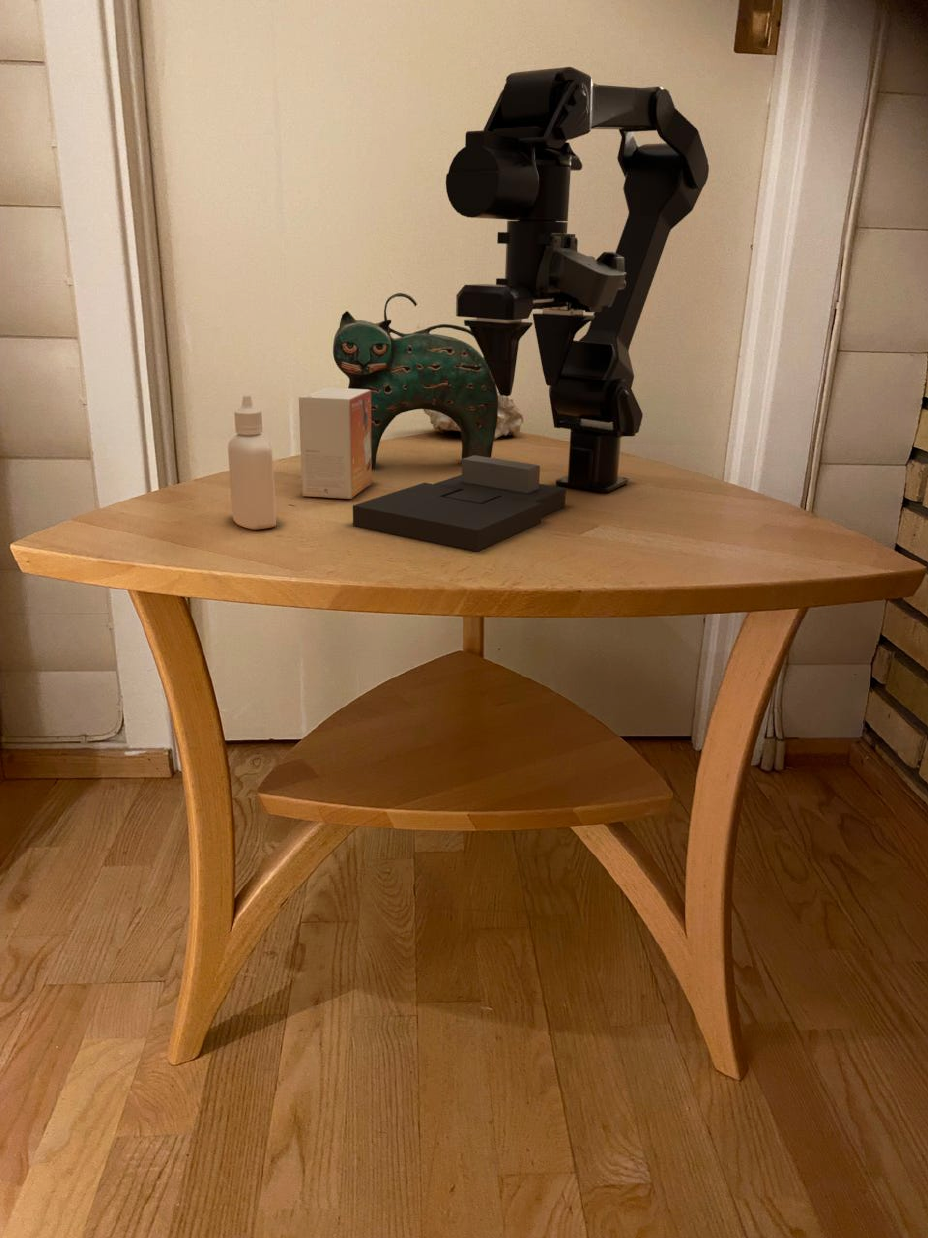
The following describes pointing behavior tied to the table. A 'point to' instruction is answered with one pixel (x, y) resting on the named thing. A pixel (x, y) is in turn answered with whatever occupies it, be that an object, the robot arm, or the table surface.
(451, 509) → the charcoal pad
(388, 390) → the ceramic cat
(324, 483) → the small box
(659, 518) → the table surface
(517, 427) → the seashell
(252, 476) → the eye dropper bottle
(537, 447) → the table surface
